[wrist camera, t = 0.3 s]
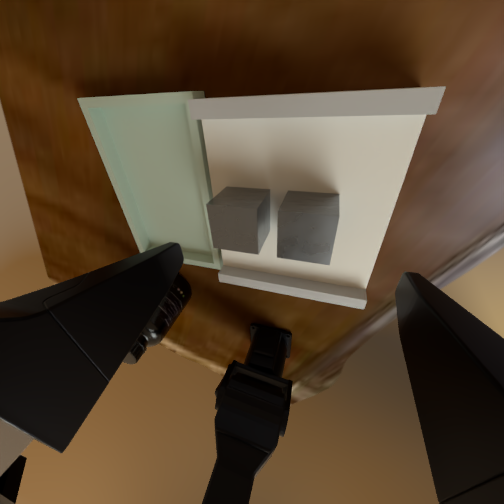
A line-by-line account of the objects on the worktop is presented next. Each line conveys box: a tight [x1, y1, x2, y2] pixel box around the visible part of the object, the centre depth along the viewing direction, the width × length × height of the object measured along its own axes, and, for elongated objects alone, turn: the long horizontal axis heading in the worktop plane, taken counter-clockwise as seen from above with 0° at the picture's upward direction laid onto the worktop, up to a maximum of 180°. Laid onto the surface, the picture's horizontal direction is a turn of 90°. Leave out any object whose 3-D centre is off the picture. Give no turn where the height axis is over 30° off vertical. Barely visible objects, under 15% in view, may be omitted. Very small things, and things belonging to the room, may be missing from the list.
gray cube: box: [206, 186, 270, 255], centre depth 19 cm, size 4×4×4 cm
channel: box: [188, 87, 446, 309], centre depth 20 cm, size 17×15×4 cm
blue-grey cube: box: [277, 190, 340, 265], centre depth 17 cm, size 4×4×4 cm
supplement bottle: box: [123, 274, 192, 364], centre depth 31 cm, size 7×7×12 cm
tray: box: [77, 91, 223, 270], centre depth 25 cm, size 18×12×2 cm, turn 3°
